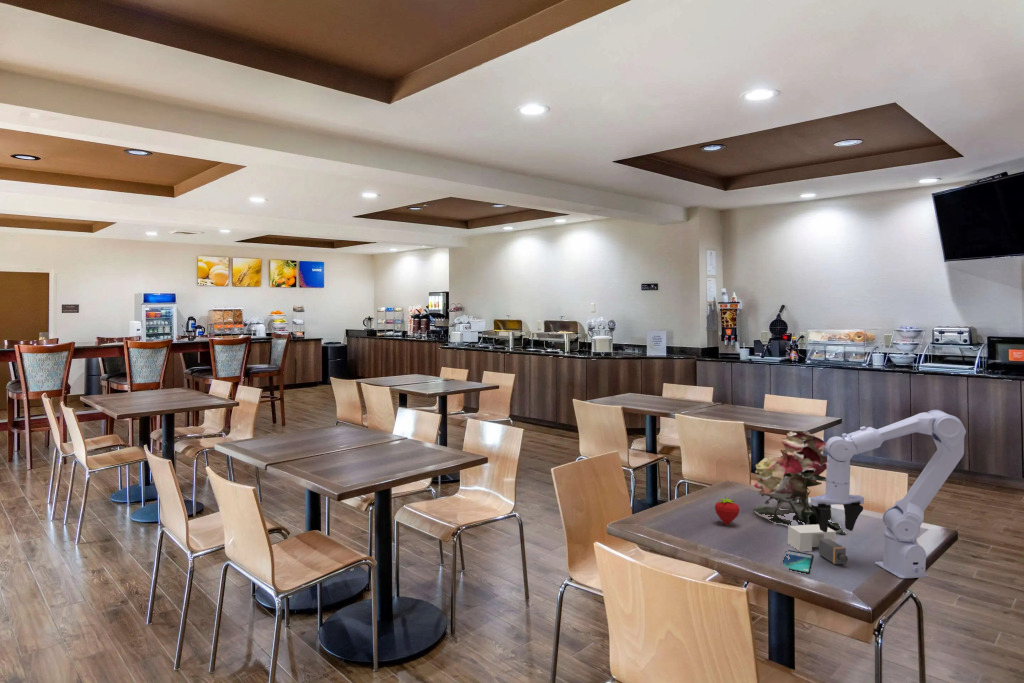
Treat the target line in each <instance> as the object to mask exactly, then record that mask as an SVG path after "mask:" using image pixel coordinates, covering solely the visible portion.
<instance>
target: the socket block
mask: <svg viewBox="0 0 1024 683" xmlns="http://www.w3.org/2000/svg"><path fill="white" fill-rule="evenodd" d="M836 531H837V530H834V529H832V528H830V527H829V526H828V529H827V532H823V531H821V530H820V527H819V523H816V524H810V525H802V524H799V525H792V526H788V527H787V545H789V544H790V545H791V546H790V545H789V546H790V547H792V546H793V547H794V548H793V547H792V548H793V549H795V548H796V549H797V550H796V549H795V550H796V551H798V550H799V551H809V552H812V551H813V548H812V547H817V548H818V547H819V539H830V540H832V541H834V542H835V543H837V542H836V541H837V540H836V539H837V538H836V537H837V533H836ZM799 551H798V552H799Z"/></svg>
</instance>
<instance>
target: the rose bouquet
mask: <svg viewBox="0 0 1024 683" xmlns="http://www.w3.org/2000/svg"><path fill="white" fill-rule="evenodd" d="M780 441H781V443H782V444H783V447H784V449H781V450H780V453H781V454H782V455H780V456H770V457H764V458H762V460H760V461H759V462H758V463H756V464H755V468H756V470H755V471H754V472H755V473H756V474H755V478H757V479H758V480H757V481H756V482H755V483H754V484H753V486H754V487H755V488H757V489H759V491H757V494H758V495H761V497H764V496H766V497H769V498H768V499H767V500H765V501H764V503H763V504H765V505H762V504H761V505H760V504H759V505H756V506H754V509H753V510H752V512H753V513H754V511H756V512H758V513H759V514H761V515H762V514H765V515H770V516H768V517H773V518H771V519H769V520H771V521H773V522H776V523H783V524H787V525H789V524H790V525H791V522H792V521H790V520H786V519H781V518H779V517H778V516H777V515H781V516H784V514H789V513H795V514H796V516H795V517H796V518H797V521H798V520H799V521H802V522H804V523H805V525H811V524H810V522H811V519H812V521H814V522H818V519H817V516H816V514H815V511H814V509H813V508H812V506H811V505H810V503H809V495H810V493H811V491H810V489H809V488H810V487H816V486H820V485H822V484H823V483H822V482H825V483H826V476H822V475H821V474H823V473H824V472H825V471H826V468H827V455H824V454H823V453H822V452H824V451H825V445H826V442H827V441H825V440H823V439H822V438H821V437H820V438H819V437H818V436H815V435H814V434H811V433H810V431H806V430H801V429H796V430H793V431H792V430H790V431H789V432H788V433H786V437H782V438H780ZM770 500H776V501H777V504H776V506H775V507H772V506H768V505H769V504H770V502H769V501H770ZM783 503H787V504H789V506H790V508H791V509H790V510H780V509H779V508H781V506H782V504H783ZM826 506H827V508H828V509H830V510H831V512H830V514H829V518H828V520H830V519H831V520H832V505H826ZM754 514H755V515H756V516H758V514H756V513H754ZM772 515H774V516H772ZM784 517H785V516H784ZM810 518H811V519H810ZM769 520H768V521H769ZM828 525H830V526H833V527H834V528H836V529H837V530H835V531H836V534H843V535H845V536H846V533H845V532H843V528H840V526H839V525H840V524H839V523H838V522H835V523H832V522H829V521H828Z"/></svg>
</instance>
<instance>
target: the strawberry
mask: <svg viewBox="0 0 1024 683" xmlns="http://www.w3.org/2000/svg"><path fill="white" fill-rule="evenodd" d="M718 500H720V501H718V502H716V503H715V504H714V510H715V513H716V515H717V516H718V518H719V519H720V520H721V521H722V523H723V524H724V525H726V526H728V525H730V524H731V523H732V522H733V521H735V519H736V518H737V517H738V516H739V513H740V506H739V505H738V504H737V503H736V502H737V501H736V500H733V499H730V498H729V499H728V497H727V496H725V497H724V498H718Z"/></svg>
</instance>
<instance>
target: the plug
mask: <svg viewBox="0 0 1024 683" xmlns="http://www.w3.org/2000/svg"><path fill="white" fill-rule="evenodd" d="M846 550H847V548H846V547H844V546H842V545H841V544H839V543H838V542H836V543H835V542H834V541H832V540H830V539H819V548H818V554H819V555H820V556H822V557H823V558H825V559H826V560H828V561H829V562H831V563H832V564H834V565H845V564H846V562H847V561H848V556H847V554H846V552H847V551H846Z"/></svg>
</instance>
